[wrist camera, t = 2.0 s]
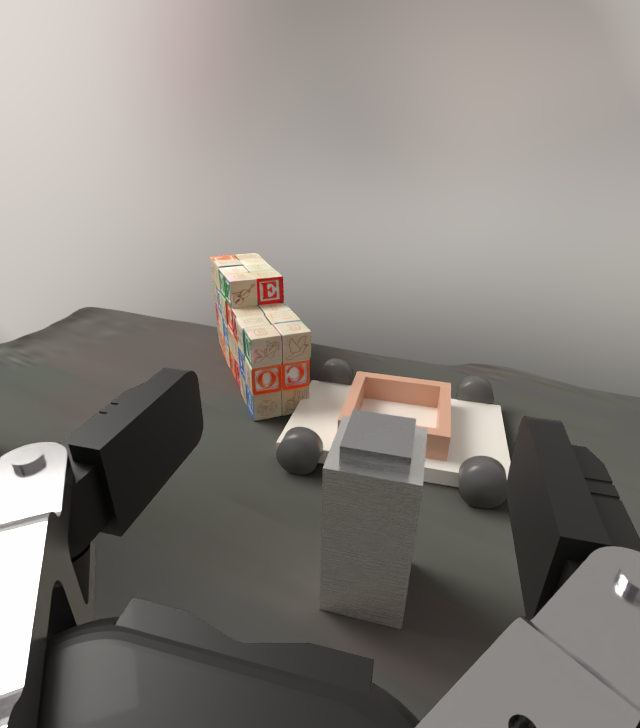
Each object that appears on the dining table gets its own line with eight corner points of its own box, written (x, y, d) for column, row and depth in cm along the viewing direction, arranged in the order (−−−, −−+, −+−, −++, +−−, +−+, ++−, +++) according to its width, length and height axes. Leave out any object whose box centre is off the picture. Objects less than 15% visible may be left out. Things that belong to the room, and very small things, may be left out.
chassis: (269, 469, 40) (267, 431, 38) (316, 383, 54) (316, 352, 52) (513, 514, 35) (524, 473, 34) (495, 407, 49) (502, 375, 47)
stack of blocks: (311, 412, 48) (312, 301, 43) (253, 423, 46) (246, 308, 41) (261, 336, 66) (257, 250, 61) (217, 342, 64) (209, 254, 58)
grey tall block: (319, 609, 28) (323, 452, 23) (337, 546, 32) (343, 401, 27) (401, 629, 27) (425, 469, 22) (408, 561, 31) (429, 413, 26)
